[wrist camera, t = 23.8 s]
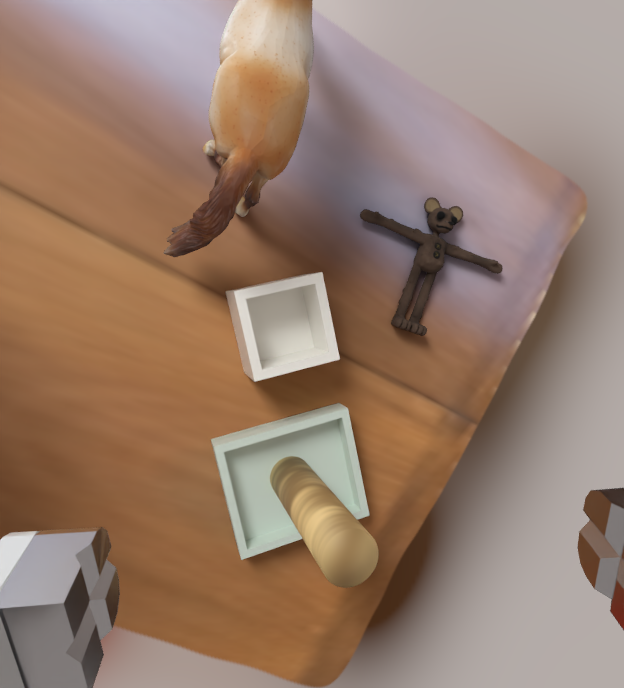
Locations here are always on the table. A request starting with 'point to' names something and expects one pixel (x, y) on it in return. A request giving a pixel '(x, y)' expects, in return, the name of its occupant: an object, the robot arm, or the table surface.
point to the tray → (259, 459)
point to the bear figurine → (427, 257)
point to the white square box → (283, 326)
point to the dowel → (324, 523)
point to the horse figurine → (252, 111)
